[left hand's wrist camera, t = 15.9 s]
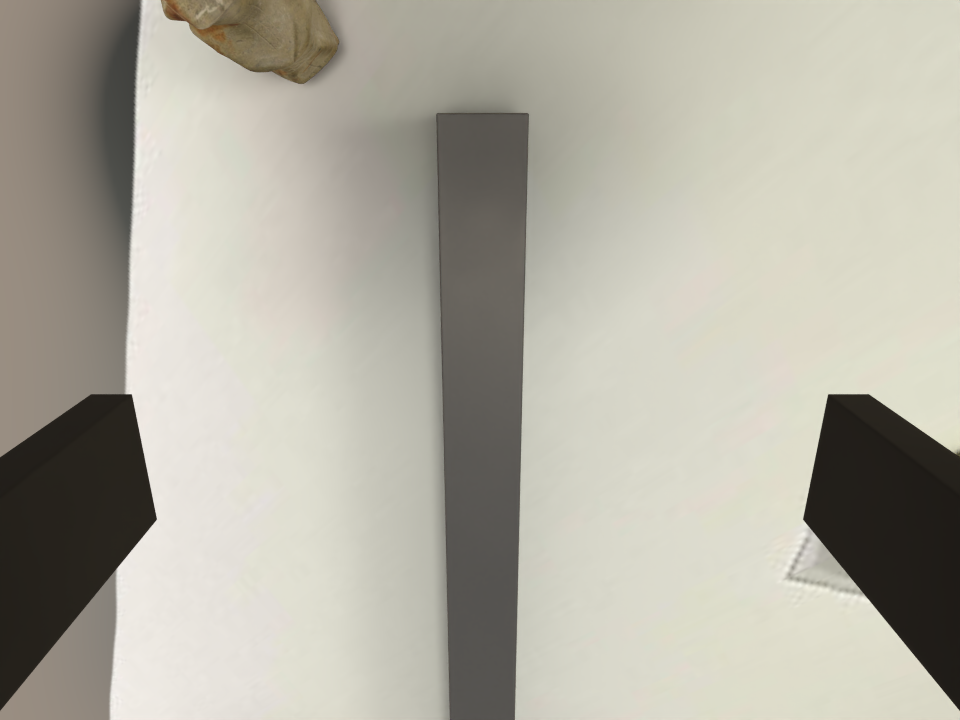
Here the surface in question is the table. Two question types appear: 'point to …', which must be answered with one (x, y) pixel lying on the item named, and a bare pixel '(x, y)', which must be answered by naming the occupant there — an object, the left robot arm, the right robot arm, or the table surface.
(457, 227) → the bar
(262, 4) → the sculpture
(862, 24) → the table surface
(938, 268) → the table surface
